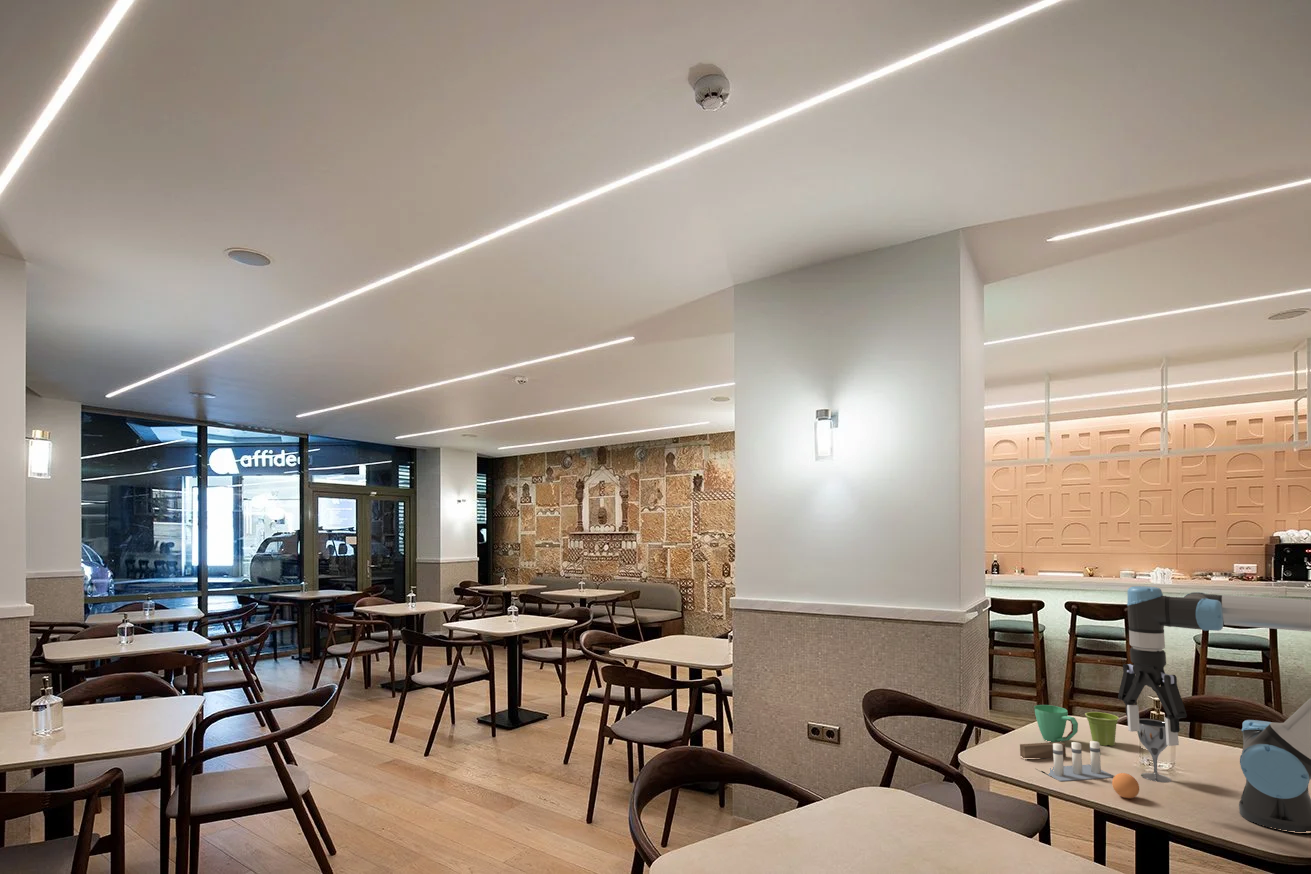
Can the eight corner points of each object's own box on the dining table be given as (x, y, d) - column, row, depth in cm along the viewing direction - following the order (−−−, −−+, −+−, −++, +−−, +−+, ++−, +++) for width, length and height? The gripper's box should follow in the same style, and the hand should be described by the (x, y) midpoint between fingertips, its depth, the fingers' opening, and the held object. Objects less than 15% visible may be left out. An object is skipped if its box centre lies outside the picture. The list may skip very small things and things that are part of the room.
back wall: (1065, 757, 221) (1065, 743, 222) (1024, 760, 219) (1024, 746, 219) (1061, 755, 223) (1060, 741, 224) (1020, 757, 221) (1019, 744, 221)
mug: (1028, 737, 241) (1026, 706, 242) (1051, 734, 244) (1049, 703, 245) (1066, 751, 227) (1064, 718, 228) (1089, 748, 230) (1088, 715, 231)
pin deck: (1116, 777, 205) (1116, 776, 205) (1060, 781, 202) (1059, 780, 202) (1089, 765, 215) (1089, 764, 215) (1035, 768, 212) (1035, 768, 212)
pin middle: (1084, 775, 206) (1083, 744, 207) (1077, 776, 206) (1075, 745, 207) (1078, 772, 209) (1076, 741, 210) (1070, 773, 208) (1069, 742, 209)
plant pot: (1082, 743, 235) (1080, 715, 236) (1091, 737, 242) (1090, 710, 243) (1115, 750, 229) (1113, 721, 229) (1124, 743, 235) (1122, 716, 236)
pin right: (1103, 774, 207) (1101, 743, 208) (1095, 774, 207) (1094, 743, 208) (1096, 771, 210) (1095, 740, 211) (1088, 771, 209) (1087, 741, 210)
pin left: (1066, 776, 205) (1064, 745, 206) (1058, 777, 205) (1056, 746, 206) (1059, 773, 208) (1058, 742, 209) (1052, 774, 207) (1050, 743, 208)
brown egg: (1145, 801, 188) (1144, 777, 189) (1125, 802, 187) (1124, 778, 188) (1126, 792, 194) (1125, 769, 195) (1107, 793, 193) (1106, 770, 194)
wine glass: (1178, 784, 200) (1175, 727, 202) (1146, 781, 202) (1143, 725, 204) (1165, 773, 208) (1161, 719, 210) (1134, 771, 210) (1131, 717, 211)
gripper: (1201, 657, 175) (1207, 752, 173) (1123, 639, 197) (1128, 723, 195) (1174, 658, 173) (1180, 753, 171) (1099, 640, 196) (1103, 724, 194)
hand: (1152, 737), depth 183 cm, fingers open, 11 cm apart
